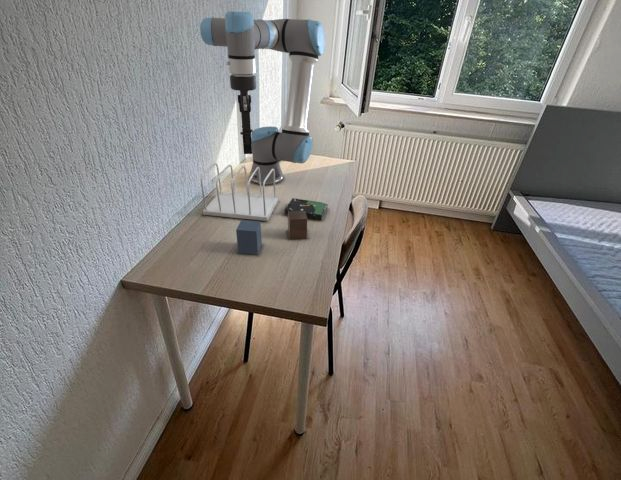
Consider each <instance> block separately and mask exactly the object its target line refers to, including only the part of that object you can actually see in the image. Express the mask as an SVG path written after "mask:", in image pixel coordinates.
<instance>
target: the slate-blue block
mask: <svg viewBox="0 0 621 480" xmlns="http://www.w3.org/2000/svg"><path fill="white" fill-rule="evenodd" d="M235 233H236V243H237V252H238V254H240V255H254V256H258V255H259V253H260V252H261V251H260V250H261V248H262V245H263V243H262V240H263V239H262V222H261V221H260V220H247V219H242V220H240V221H239V223H238V225H237V227H236V229H235Z"/></svg>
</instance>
